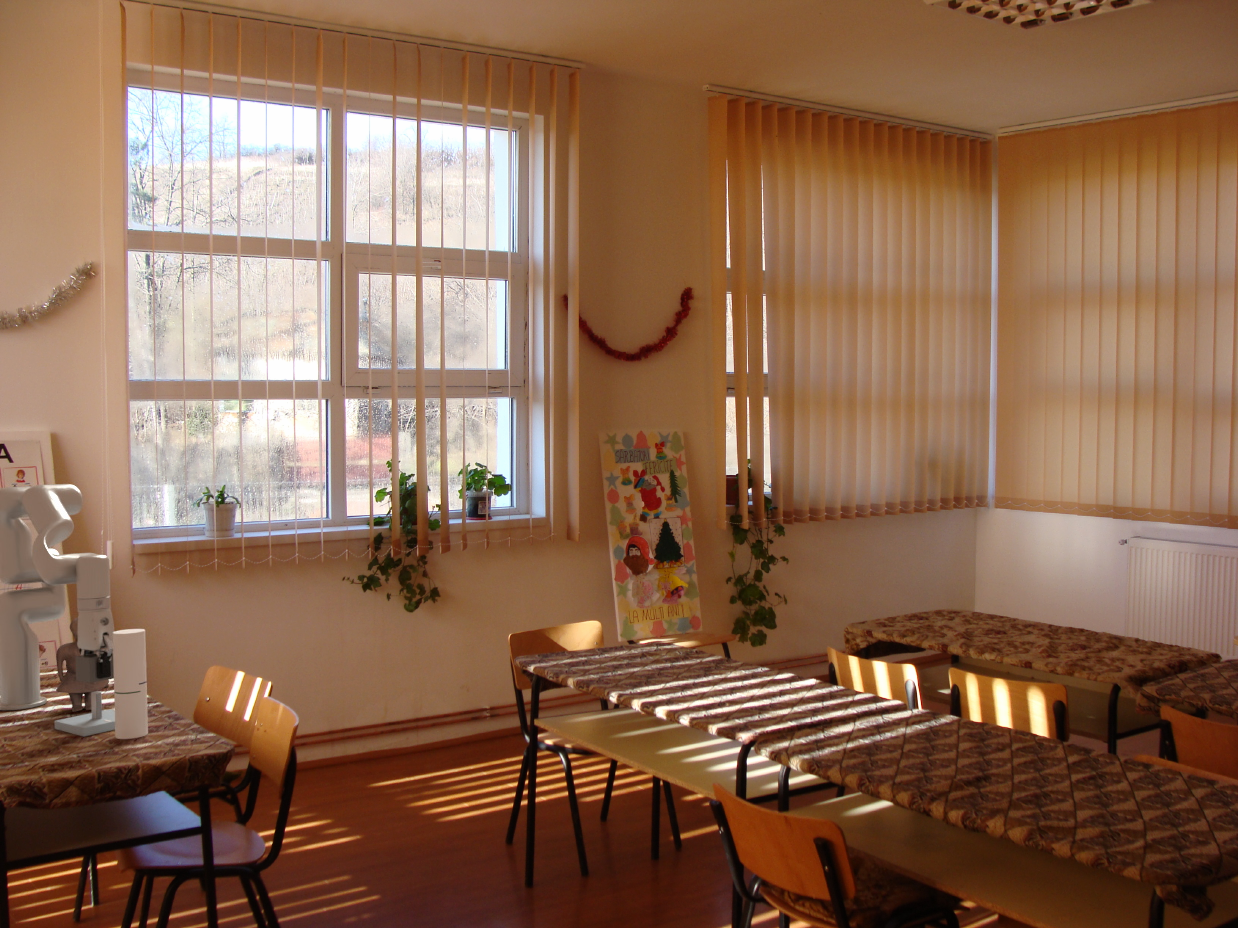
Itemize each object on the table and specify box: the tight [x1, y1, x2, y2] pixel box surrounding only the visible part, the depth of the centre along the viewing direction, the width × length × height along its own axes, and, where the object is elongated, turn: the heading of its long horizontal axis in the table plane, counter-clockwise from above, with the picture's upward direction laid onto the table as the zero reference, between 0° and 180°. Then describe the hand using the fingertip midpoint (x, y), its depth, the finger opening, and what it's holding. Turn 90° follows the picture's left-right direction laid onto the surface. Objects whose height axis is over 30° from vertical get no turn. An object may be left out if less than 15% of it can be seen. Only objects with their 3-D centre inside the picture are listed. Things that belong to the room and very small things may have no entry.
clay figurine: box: [55, 616, 110, 713], centre depth 286 cm, size 13×10×25 cm
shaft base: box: [54, 690, 115, 737], centre depth 267 cm, size 14×14×8 cm
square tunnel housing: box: [75, 652, 114, 683], centre depth 266 cm, size 7×7×6 cm
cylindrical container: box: [113, 628, 149, 740], centre depth 257 cm, size 7×7×25 cm
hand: (96, 675), depth 266 cm, fingers closed on square tunnel housing, 6 cm apart
